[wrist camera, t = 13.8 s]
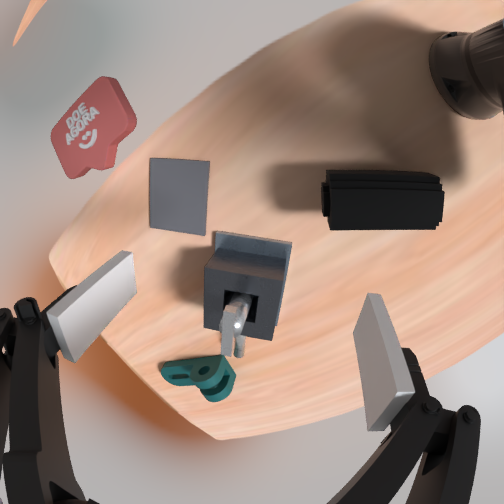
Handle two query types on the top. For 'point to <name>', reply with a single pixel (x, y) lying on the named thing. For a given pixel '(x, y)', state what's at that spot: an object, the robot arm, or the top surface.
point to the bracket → (202, 375)
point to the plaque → (93, 128)
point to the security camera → (382, 200)
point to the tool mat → (179, 195)
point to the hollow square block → (246, 282)
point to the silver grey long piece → (234, 320)
